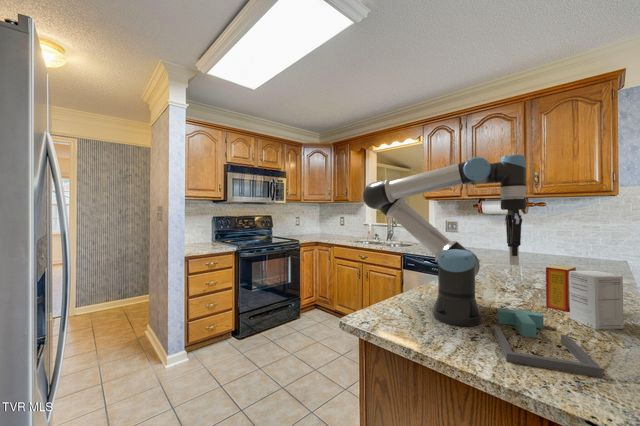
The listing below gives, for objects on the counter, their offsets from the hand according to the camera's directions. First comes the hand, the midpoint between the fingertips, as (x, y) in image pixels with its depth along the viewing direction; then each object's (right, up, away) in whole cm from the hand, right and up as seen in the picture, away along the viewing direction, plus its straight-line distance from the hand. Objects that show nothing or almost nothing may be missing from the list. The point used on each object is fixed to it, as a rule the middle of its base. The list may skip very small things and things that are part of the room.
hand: (513, 264), depth 100 cm
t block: (-5, -19, -11) cm, 22 cm away
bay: (-11, -18, -25) cm, 33 cm away
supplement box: (+22, -19, -7) cm, 30 cm away
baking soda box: (+25, -19, +9) cm, 32 cm away
